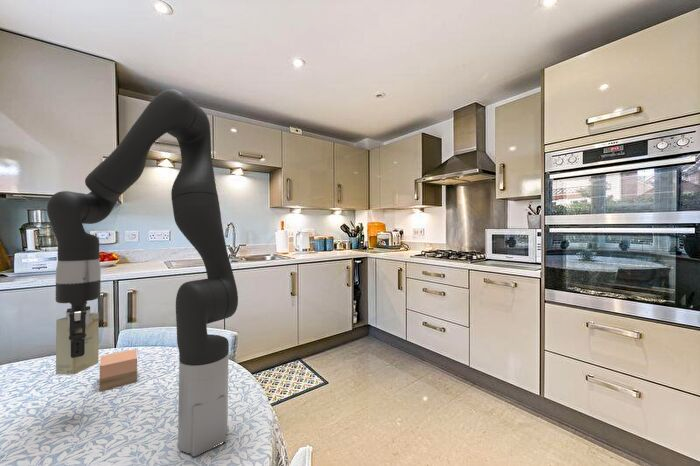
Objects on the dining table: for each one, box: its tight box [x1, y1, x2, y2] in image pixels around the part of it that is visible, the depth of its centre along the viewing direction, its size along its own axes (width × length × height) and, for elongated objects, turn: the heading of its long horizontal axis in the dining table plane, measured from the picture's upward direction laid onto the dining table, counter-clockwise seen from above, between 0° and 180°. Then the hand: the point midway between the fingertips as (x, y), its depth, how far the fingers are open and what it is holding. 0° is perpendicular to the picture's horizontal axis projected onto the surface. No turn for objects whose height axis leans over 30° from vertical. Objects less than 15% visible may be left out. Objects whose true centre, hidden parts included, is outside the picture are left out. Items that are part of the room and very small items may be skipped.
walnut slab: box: [99, 370, 138, 393], centre depth 82 cm, size 8×8×4 cm
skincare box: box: [55, 312, 100, 376], centre depth 66 cm, size 6×4×12 cm
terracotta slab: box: [99, 348, 138, 380], centre depth 82 cm, size 8×8×4 cm
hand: (78, 351), depth 66 cm, fingers closed on skincare box, 7 cm apart
